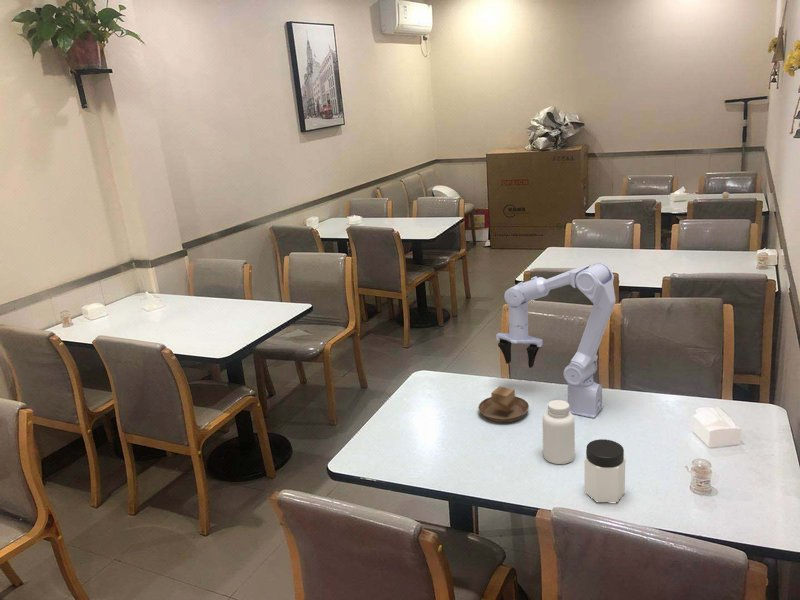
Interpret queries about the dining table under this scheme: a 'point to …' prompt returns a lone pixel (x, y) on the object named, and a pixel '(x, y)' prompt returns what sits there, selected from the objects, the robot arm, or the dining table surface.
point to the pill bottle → (558, 433)
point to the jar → (604, 471)
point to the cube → (503, 398)
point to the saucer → (500, 415)
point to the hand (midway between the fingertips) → (519, 364)
